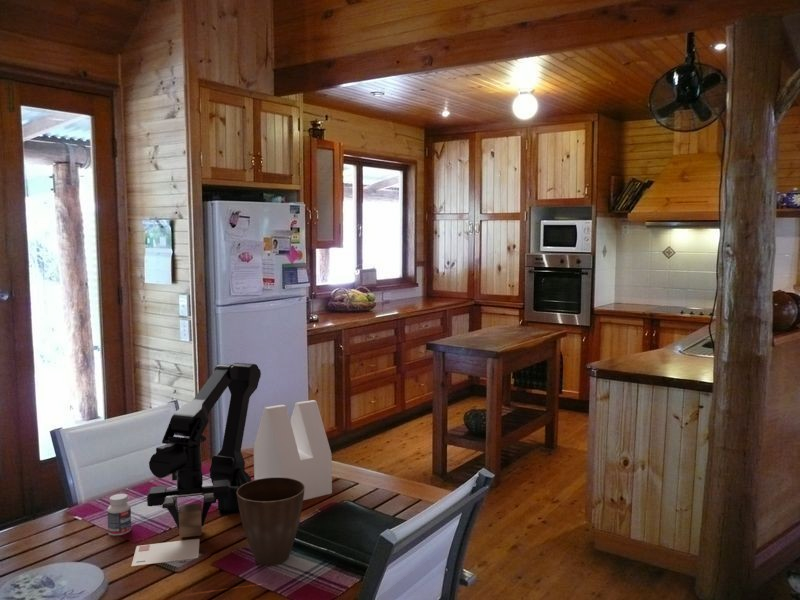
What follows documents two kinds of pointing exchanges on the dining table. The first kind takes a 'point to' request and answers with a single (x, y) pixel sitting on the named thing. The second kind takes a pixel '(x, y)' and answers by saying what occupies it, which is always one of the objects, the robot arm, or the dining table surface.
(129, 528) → the pill bottle
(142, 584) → the dining table surface
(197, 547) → the letter
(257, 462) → the white forked block
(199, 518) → the walnut block
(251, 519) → the plant pot
